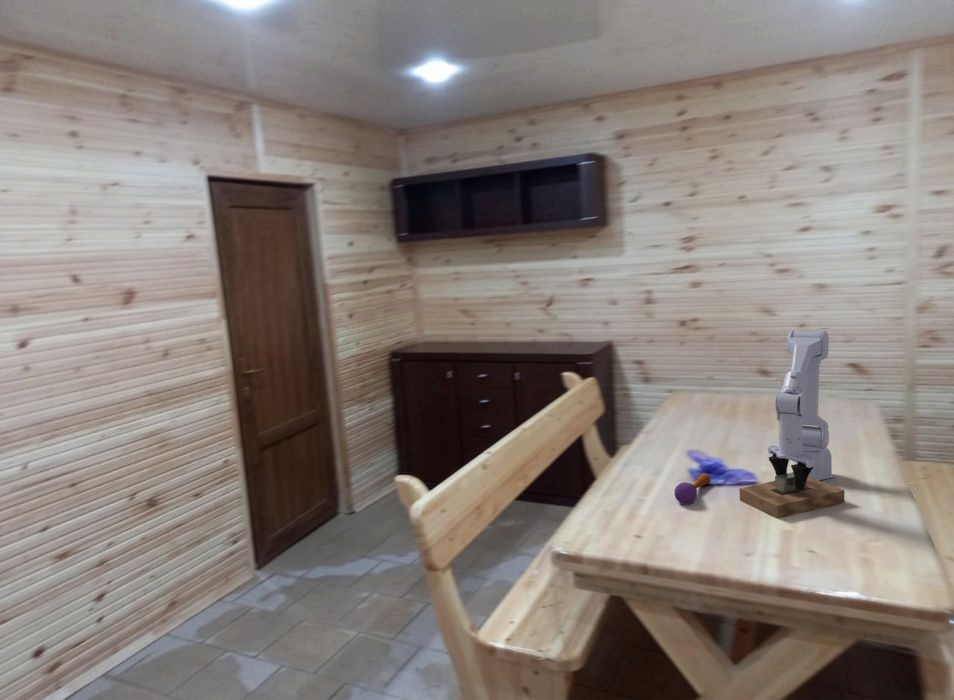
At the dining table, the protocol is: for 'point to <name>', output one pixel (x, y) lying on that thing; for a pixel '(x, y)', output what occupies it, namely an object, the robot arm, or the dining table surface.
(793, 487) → the tall grey cuboid
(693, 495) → the purple and brown maraca
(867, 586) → the dining table surface
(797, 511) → the well
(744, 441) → the dining table surface
